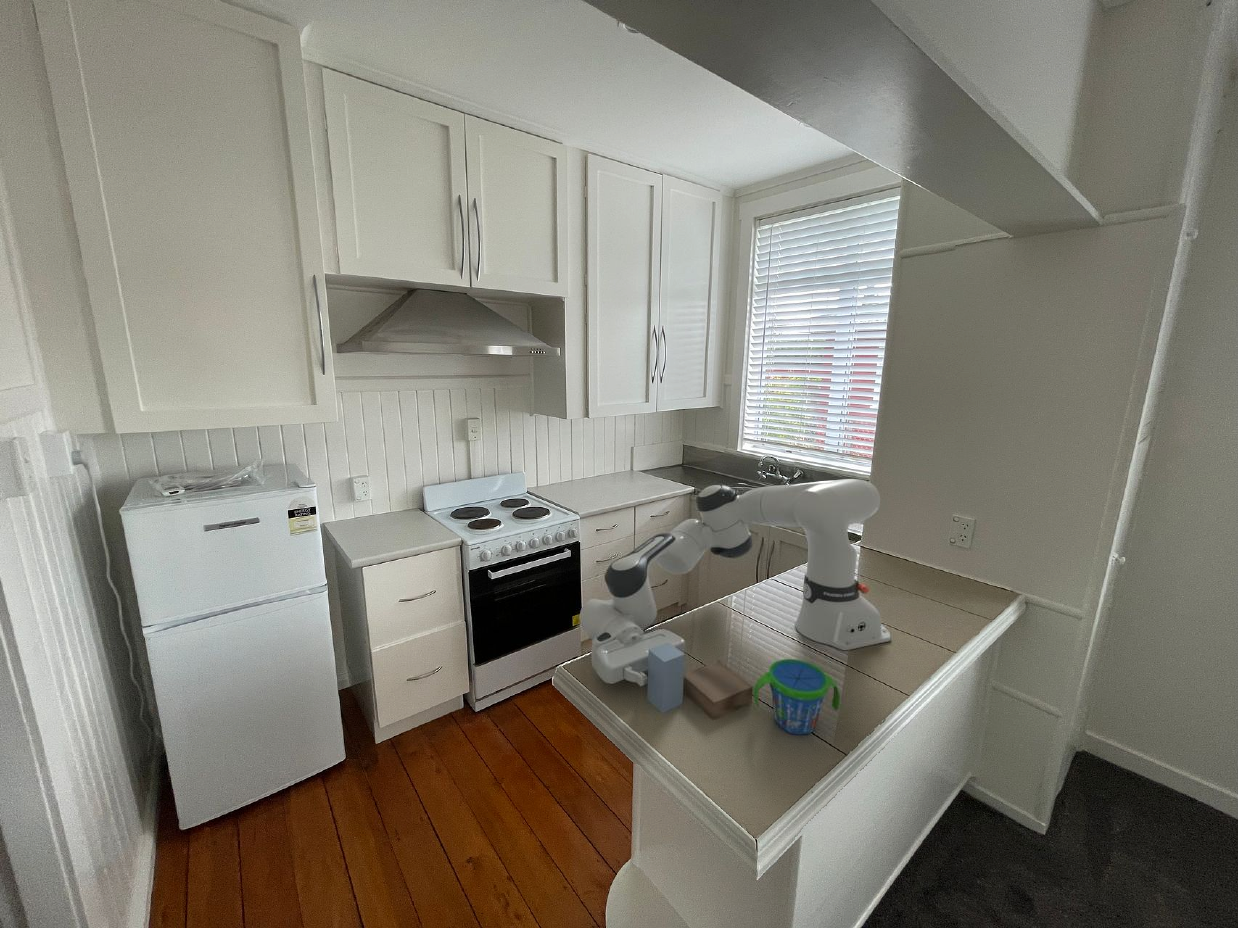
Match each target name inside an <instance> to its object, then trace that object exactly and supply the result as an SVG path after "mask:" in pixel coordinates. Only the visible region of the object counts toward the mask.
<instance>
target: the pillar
mask: <svg viewBox="0 0 1238 928" xmlns="http://www.w3.org/2000/svg"><path fill="white" fill-rule="evenodd" d="M685 657H686V656H685V654H684V653H682V652H681V651H680V650H678V649H677V648H675V647H674V646H673V645H671V644H670V643H669V642H668V643H666V644H663V645H660V646H657V647H655V648H652V649H649V656H648V670H647V677H648V680H647V681H648V683H647V697H646V698H647V700H648V702H650V703H651V704H652V705H653V706H654V707H655V708H656V709H657V710H659V711H660V713H662V714H664V713H666V712H669V711H671V710H674V709H676V708H677V707H680V706H682V705H683V701H684V700H683V699H684V698H683V697H684V692H683V680H684V674H685V668H684V662H685Z"/></svg>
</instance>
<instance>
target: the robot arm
mask: <svg viewBox="0 0 1238 928" xmlns="http://www.w3.org/2000/svg"><path fill="white" fill-rule="evenodd" d="M695 504H696V507H697V508H696V509H697V511H699V513H700V516H701V519H702V520H700V519H697V518H688V519H686V520H684V521H682V522H681V523H680V524H678V525H677V526H675V527H674V528H673V529H672V530H671V531H670V532H669V533H668V532H662V533H657V534H656V535H654V536H652V537H650V538H649V539H647V540H645V541H644V542H643V543H642V544H640V545H638V546H637V547H636V548H635V549H633V550H632V551H631V552H629V553H628V554H626V555H623V556H622V557H619V558H617V559H615V560H613V561H612V562H611V563H610V565H609V566H608V568H607V569H606V572H605V573H604V582H605V584H606V586H607V589H608V591H609V593H610V596H611V599H606V600H602V599H597V598H591V599H589V600H587V601H586V602H585V603H584V604H583V605H582V607H581V609H580V613H579V624H580V626H581V628H582V630H583V632H584V633H585V634H586V635H587V636H588V637H589V638H590V639H591V650H590V651H591V652H590V654H591V655H590V656H591V657H590V658H591V666H592V669H594V670H595V672H596V673H597V675H598V676H599V678H600V679H601V680H602V681H603V682H604V683H606V684H609V685H613V684H616V683H618V682H621V681H623V680H626V681H629V682H631V683H636V684H638V685H639V687H643V686H645V685H648V674H645V673H644V672H646V671H647V672H648V656H649V649H652V648H655V647H657V646H660V645H663V644H666V643H668V642H669V643H670V644H671V645H673V646H674V647H675V648H677V649H678V650H680V651H681V652H682V653H684V654H685V653H686V641H685V639H684V638H682V636H680V635H677V634H676V633H674V632H672V631H671V630H668V629H664V628H662V629H661V628H660V629H656V630H653V631H650V632H648V633H647V632H646V631H647V630H648V629H650V627H652V625H653V624H654V623H655V622H656V620H657V618H658V609H657V605H656V601H655V598H654V595H653V591H652V587H651V584H650V580H649V569H650V567H651V566H652V565H653V564H654V563H655V562H656V563H657V564H658V566H659V567H660V568H661V569H663V570H664V571H665V572H667V573H669V574H673V575H684V574H687V573H689V572H690V571H692V570H693V568H695V567H696V565H697V563H698V562H699V561H700V559H701V558H702V557H703V555H704V553H705V552H706V551H707V550H710V552H711V553H712V554H713V555H714V556H715V555H716V556H720V557H722V558H725V559H726V558H727V559H738V558H740V557H743V556H744V555H746V554H748V552H749V551H751V549H752V547H753V545H754V544H753V543H754V541H753V537H752V533H751V532H750V530H749V527H748V524H750V523H752V524H756V525H761V526H769V527H770V526H771V527H802V528H803V530H804V532H805V535H806V539H807V540H806V541H807V548H808V549H807V550H808V553H807V565H806V567H807V568H806V573H804V579H803V589H802V590H803V591H802V593H803V597H802V602H801V606H800V610H799V613H798V616H797V618H796V620H795V623H794V625H795V629H796V630H797V631H798V633H800V634H801V635H802V636H804V637H806V638H808V639H810V640H812V641H814V642H816V643H817V642H818V643H821V644H825V645H829V646H832V647H834V648H837V649H839V650H842V651H850V650H853V649H857V648H858V649H859V648H862V647H868V646H873V645H877V644H880V643H881V644H882V643H885V642H889V641H891V634H890V631H889V630H888V628H886V627H885V626H884V625H883V624H882V619H881V618H882V617H881V615H880V612H879V611H878V609H877V608H876V607H875V606H874V605H873V604H872V603H871V602H869V601H868V600H867V599H866V598H864V597H863V596H862V595H861V594H860V593H862V594H863V595H866V594H868V593H869V591H870V588H869V586H868V585H865V584H864V583H862V582H861V583H859V581H858V580H856V579H855V576H856V567H857V559H858V553H857V551H856V549H855V547H854V546H853V545H852V544H851V543H850V540H849V535H848V533H849V532H848V530H849V526H851V525H854V524H858V523H862V522H863V521H866V520H867V519H869V518H870V517H872V516H873V515H874V514H875V513H876V512H877V511H878V510H879V508H880V505H881V495H880V493H879V490H878V489H877V487H876V486H875V485H874V484H873V483H871V482H869V481H867V480H863V479H857V478H845V479H837V480H836V479H835V480H823V481H822V480H821V481H815V482H812V481H811V482H804V483H795V484H783V485H770V486H769V485H767V486H763V487H762V486H761V487H757V488H753V489H749V490H748V491H746V492H744V493H743V494H740V491H739V490H738V489H737V488H733V487H729V486H728V485H724V484H719V483H718V484H713V485H709V486H707V487H705V488H704V489H702V490H701V491H700V492H698V494H697V496H696V497H695ZM749 553H750V552H749ZM859 591H860V592H859ZM645 632H646V633H645ZM685 668H686V662H685V661H684V669H685Z"/></svg>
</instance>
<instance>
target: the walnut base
mask: <svg viewBox="0 0 1238 928" xmlns="http://www.w3.org/2000/svg"><path fill="white" fill-rule="evenodd" d="M753 688H754V686H753V685H751V683H749V682H748V681H746V680H745V679H743V677H741V676H740V675H738V674H737V673H736V672H735V671H733V670H732V669H730V668H729V667H728V666H727V665H725V664H724V663H722V662H721V661H719V660H718V661H715V662H713V663H710V664H708V665H704V666H702V667H699V668H697V669H694V670H691V671H688V672H686V673H685V672H684V680H683V694H684V695H686V696H687V697H688V698H689V699H690V700H691V701H692V702H693V703H695V704H696V705H697V707H699V708H700V709H701V710H702V711H703V712H704V713H705V714H707V715H708V717H710V718H711V719H712V720H715V719H718V718H720V717H722V716H725V715H727V714H729V713H731V712H733V711H735V710H738V709H740V708H741V709H742V707H746V706H748V705H750V704H752V702H753V692H754V689H753Z"/></svg>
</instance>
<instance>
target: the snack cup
mask: <svg viewBox="0 0 1238 928" xmlns="http://www.w3.org/2000/svg"><path fill="white" fill-rule="evenodd" d="M766 684H769V686H770V691H771V696H772V699H771V700H772V701H771V702H772V710H773V717H774V721H775V723H777V724H778V726H779V727H780V728H781V729H783V730H784V731H786V732H787V733H789V734H792V735H793V734H795V735H805V734H806V735H807V734H808V735H810V734H812V733H813V731H814V730H815V728H816V727H817V723H818V721H819V720H818V719H819V717H820V712H821V709H822V706H823V702H824V698H825V696H826V694H827V693H828V691H829V687H830V686H833V697H832V700H831V702H832V703H831V706H832V707H833V709H834V710H835V711H839V710H840V707H841V692H840V688H839V687H838V684H836V682H835V681H834V680H833V678H832V677H830V676H829V675H828V674H827V673H825V672H824V671H823V670H822V669H820V667H818V666H816V665H815V664H812V663H810V662H808V661H804V660H800V659H795V658H794V659H792V658H787V659H786V658H785V659H780V660H777V661H775V662H773V663H772V664H771V665H769V669H768V671H767V672H766V673H764V674H762V675H761V676H760V678H758V680H757V682H756V683H755V684H754V685H755V686H754V687H753V688H754V689H753V699H754V703H755V706H756V708H757V709H759V708H760V705H759V691H760V690H761V688H763V687H764V686H765V685H766Z"/></svg>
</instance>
